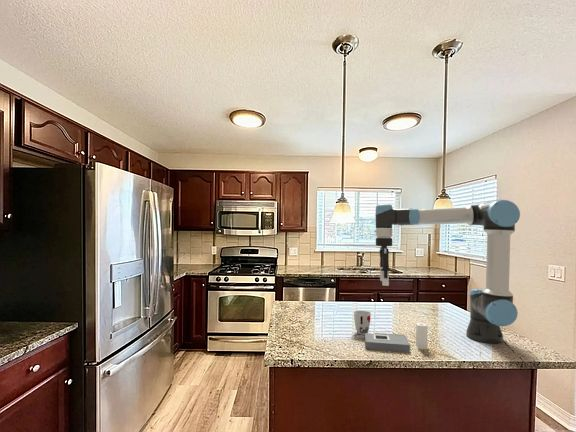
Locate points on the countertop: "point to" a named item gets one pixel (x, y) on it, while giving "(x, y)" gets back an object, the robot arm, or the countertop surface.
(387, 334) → the phone
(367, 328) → the cup
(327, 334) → the countertop surface
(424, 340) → the block
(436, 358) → the countertop surface
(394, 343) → the plate
